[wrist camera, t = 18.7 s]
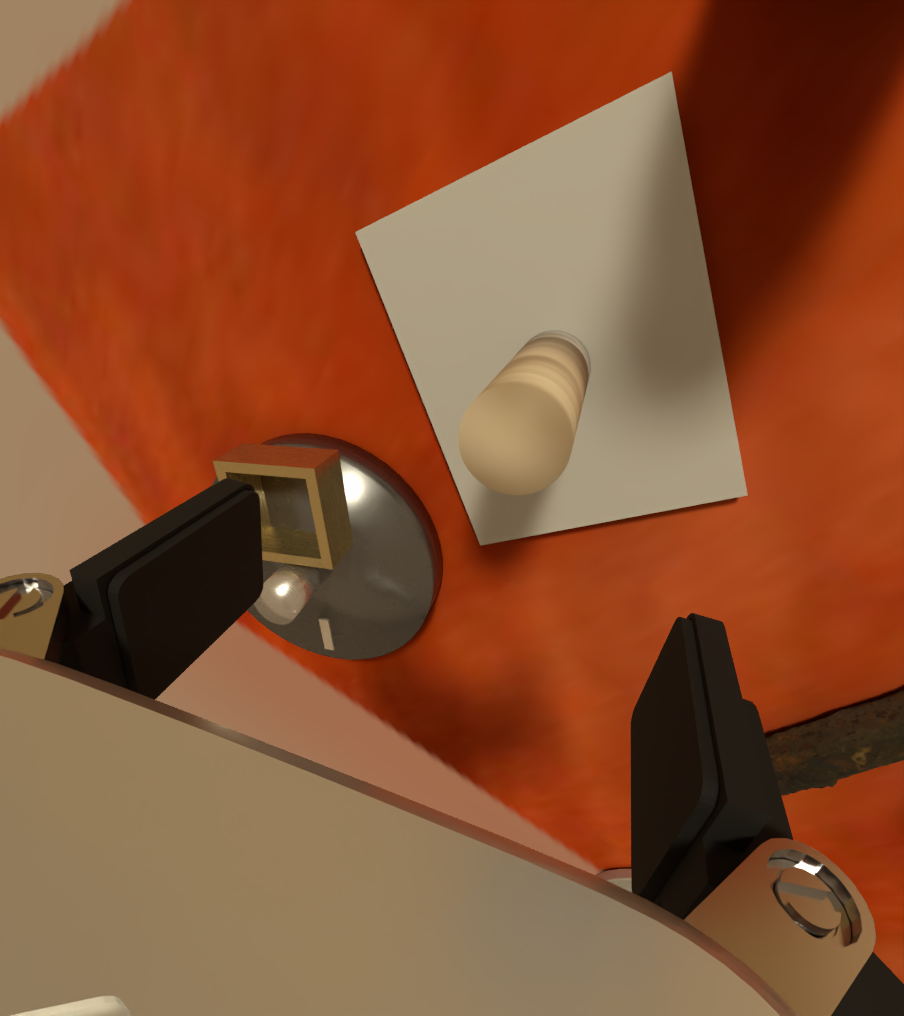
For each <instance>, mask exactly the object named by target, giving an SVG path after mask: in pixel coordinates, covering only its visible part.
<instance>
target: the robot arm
mask: <svg viewBox="0 0 904 1016" xmlns="http://www.w3.org/2000/svg"><path fill="white" fill-rule="evenodd" d="M70 573H71V577H72V581H71V582H69V583H68V584H66V585H63V583H62V582H61V581H60V580H59V579H58V578H56V577H54V576H52V575H48V574H42V573H25V574H19V575H13V576H8V577H5V578H2V579H0V1016H904V984H903V983H902V982H901V981H900V980H899V979H898V978H897V977H896V976H895V975H894V974H893V973H892V971H891V970H890V969H889V968H888V967H887V966H886V965H885V964H884V963H883V962H882V961H881V960H880V959H879V958H878V957H877V956H876V955H875V953H874V952H873V948H874V944H875V941H876V934H875V927H874V921H873V918H872V916H871V914H870V911H869V909H868V907H867V904H866V902H865V900H864V899H863V897H862V896H861V894H860V893H859V891H858V890H857V888H856V887H855V886H854V884H853V883H852V882H851V880H850V879H849V878H848V877H847V876H846V875H845V874H844V873H843V872H842V871H841V870H840V869H839V868H838V867H837V866H836V865H835V864H834V863H833V862H831V861H830V860H829V859H827V858H826V857H825V856H824V855H822V854H821V853H820V852H818V851H816V850H815V849H813V848H811V847H809V846H807V845H805V844H803V843H801V842H798V841H794V840H793V837H792V833H791V830H790V826H789V822H788V819H787V815H786V812H785V808H784V804H783V801H782V797H781V793H780V790H779V786H778V782H777V779H776V775H775V771H774V768H773V764H772V760H771V757H770V753H769V749H768V746H767V742H766V739H765V735H764V731H763V728H762V724H761V720H760V717H759V713H758V711H757V708H756V706H755V705H754V704H753V703H752V702H751V701H748V700H745V699H742V695H741V691H740V687H739V683H738V679H737V675H736V671H735V667H734V663H733V659H732V655H731V651H730V647H729V643H728V639H727V635H726V631H725V626H724V624H723V622H721V621H718V620H715V619H711V618H708V617H704V616H701V615H698V614H694V613H691V614H689V616H688V617H687V619H685V618H682V617H678V618H677V619H676V621H675V623H674V625H673V627H672V629H671V631H670V633H669V635H668V637H667V640H666V642H665V644H664V646H663V648H662V650H661V652H660V655H659V657H658V659H657V661H656V663H655V665H654V667H653V670H652V672H651V674H650V676H649V678H648V680H647V682H646V684H645V687H644V689H643V691H642V693H641V695H640V697H639V699H638V702H637V704H636V706H635V708H634V711H633V715H632V719H631V869H614V870H607V871H604V872H601V873H598V874H597V875H593V874H590V873H588V872H586V871H583V870H581V869H579V868H576V867H574V866H571V865H569V864H566V863H564V862H562V861H559V860H557V859H555V858H552V857H550V856H547V855H545V854H543V853H540V852H538V851H535V850H533V849H531V848H528V847H526V846H524V845H521V844H519V843H516V842H514V841H512V840H509V839H507V838H504V837H502V836H499V835H497V834H494V833H492V832H489V831H487V830H484V829H482V828H479V827H477V826H474V825H472V824H469V823H467V822H464V821H462V820H459V819H457V818H454V817H452V816H449V815H447V814H444V813H441V812H439V811H436V810H434V809H432V808H429V807H427V806H424V805H421V804H419V803H417V802H414V801H412V800H409V799H407V798H404V797H402V796H399V795H397V794H394V793H392V792H389V791H387V790H384V789H381V788H379V787H376V786H374V785H372V784H369V783H367V782H364V781H361V780H359V779H356V778H354V777H351V776H349V775H346V774H344V773H341V772H338V771H336V770H333V769H331V768H328V767H326V766H323V765H321V764H318V763H316V762H313V761H311V760H308V759H306V758H303V757H300V756H298V755H295V754H293V753H290V752H288V751H285V750H283V749H280V748H277V747H275V746H272V745H269V744H267V743H265V742H262V741H260V740H257V739H254V738H252V737H249V736H247V735H244V734H242V733H239V732H237V731H234V730H232V729H229V728H226V727H224V726H221V725H219V724H216V723H213V722H211V721H208V720H206V719H203V718H200V717H198V716H195V715H193V714H190V713H187V712H185V711H182V710H179V709H177V708H175V707H172V706H169V705H167V704H164V703H162V702H159V701H156V700H155V699H156V698H157V697H158V696H159V695H160V694H161V693H162V692H163V691H164V690H165V689H166V688H167V687H168V686H169V685H170V684H171V683H172V682H174V681H175V680H176V678H178V677H179V676H180V675H181V674H182V673H183V672H184V671H185V670H186V669H187V668H188V667H189V666H190V665H191V664H192V663H193V662H194V661H195V660H196V659H197V658H198V657H199V656H200V655H201V654H202V653H203V652H204V651H205V650H206V649H207V648H209V646H210V645H212V644H213V643H214V642H215V641H216V640H217V639H218V638H219V637H220V636H221V635H222V634H223V633H224V632H225V631H226V630H227V629H228V628H229V627H230V626H231V625H232V624H233V623H234V622H235V621H236V620H237V619H238V618H239V617H240V616H241V615H242V614H243V613H244V612H246V611H247V610H248V609H249V608H250V607H251V606H252V605H253V604H254V603H255V602H256V601H257V600H258V598H259V597H260V595H261V593H262V590H263V561H262V537H261V513H260V497H259V495H258V493H256V492H255V489H254V487H253V486H252V485H251V484H248V483H244V482H241V481H238V480H234V479H231V478H225V479H223V480H221V481H219V482H218V483H216V484H214V485H213V486H211V487H209V488H208V489H206V490H204V491H202V492H201V493H199V494H197V495H196V496H194V497H192V498H191V499H189V500H187V501H186V502H184V503H182V504H180V505H179V506H177V507H175V508H174V509H172V510H170V511H169V512H167V513H165V514H164V515H162V516H160V517H159V518H157V519H155V520H153V521H152V522H150V523H148V524H147V525H145V526H143V527H142V528H140V529H138V530H137V531H135V532H133V533H132V534H130V535H128V536H126V537H125V538H123V539H122V540H120V541H118V542H117V543H115V544H113V545H111V546H110V547H108V548H106V549H105V550H103V551H101V552H100V553H98V554H96V555H94V556H93V557H91V558H89V559H88V560H86V561H85V562H83V563H81V564H79V565H78V566H76V567H74V568H72V569H71V570H70Z"/></svg>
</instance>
